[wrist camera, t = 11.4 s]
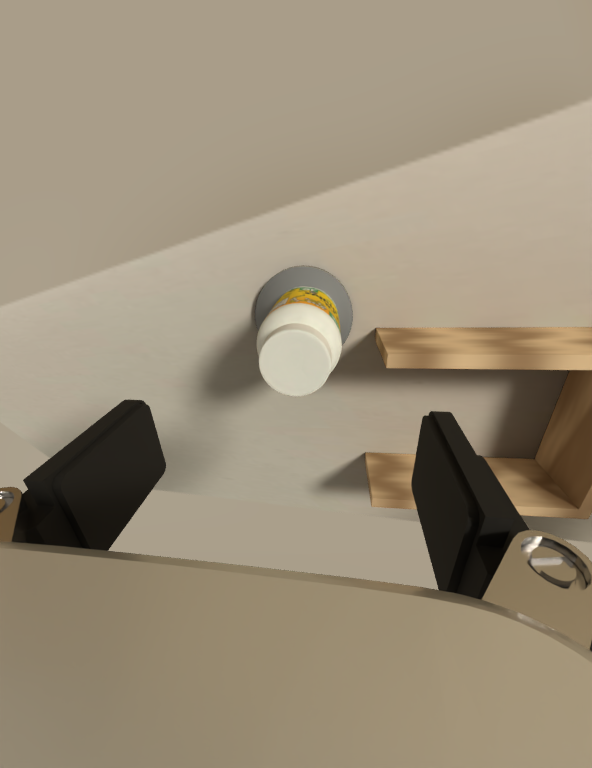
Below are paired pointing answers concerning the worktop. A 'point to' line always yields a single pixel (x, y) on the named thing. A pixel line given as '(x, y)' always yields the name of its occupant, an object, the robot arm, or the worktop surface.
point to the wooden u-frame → (561, 439)
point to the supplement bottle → (299, 342)
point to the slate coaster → (309, 279)
